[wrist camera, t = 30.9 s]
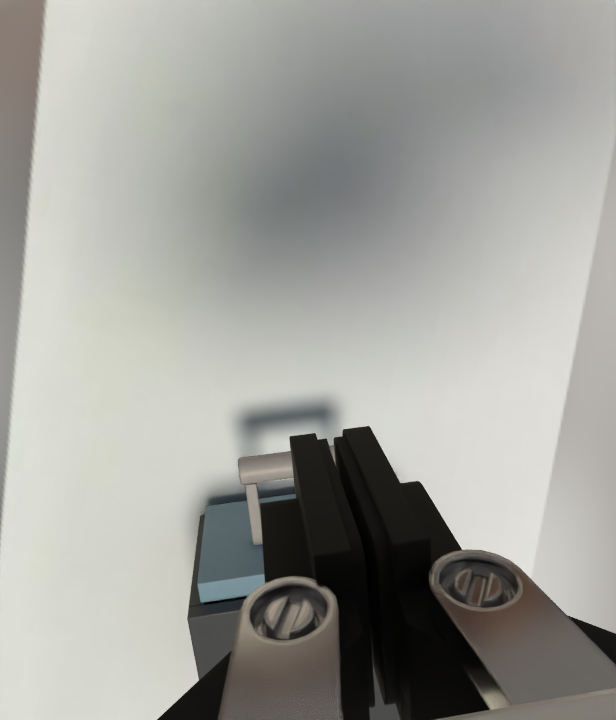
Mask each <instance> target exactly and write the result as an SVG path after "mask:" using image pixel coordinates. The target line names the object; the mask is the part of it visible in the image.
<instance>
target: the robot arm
mask: <svg viewBox="0 0 616 720" xmlns="http://www.w3.org/2000/svg"><path fill="white" fill-rule="evenodd" d="M290 448H291V457H292V466H293V475H294V485H295V494H296V498H293V499H286V500H279V501H272V502H265V503H260V511H261V528H262V544H263V561H264V577H265V583H264V584H263V585H261V586H260V587H258V588H257V589H255V590H254V591H252V592H251V594H250V595H249V596H248V597H247V598H246V599H245V600H244V602H243V605H242V607H241V610H240V612H239V617H238V622H237V627H236V632H235V636H234V641H233V646H232V650H231V651H230V652H229V653H228V654H227V655H226V656H225V657H224V658H223V659H222V660H221V661H220V662H218V663H217V664H216V665H215V666H214V667H213V668H212V669H211V670H210V671H209V672H208V673H207V674H206V675H205V676H203V677H202V678H201V679H200V680H199V681H198V682H197V683H196V684H195V685H194V686H193V687H192V688H191V689H190V690H188V691H187V692H186V693H185V694H184V695H183V696H182V697H181V698H180V699H179V700H178V701H177V702H176V703H175V704H173V705H172V706H171V707H170V708H169V709H168V710H167V711H166V712H165V713H164V714H163V715H162V716H161V717H160V718H158V719H157V720H370V712H369V708H372V707H375V692H374V678H373V667H374V670H375V674H376V678H377V681H378V685H379V688H380V692H381V696H382V699H383V702H384V704H385V705H390V704H395V703H396V707H397V710H398V713H399V717H400V720H616V634H615V633H612V632H609V631H607V630H604V629H602V628H599V627H596V626H593V625H591V624H589V623H586V622H583V621H581V620H578V619H575V618H573V617H570V616H567V615H566V614H565V613H564V612H563V611H562V610H561V609H560V608H559V607H558V606H557V605H556V604H555V603H554V602H553V601H552V600H551V599H550V598H549V597H548V596H547V595H546V594H545V593H544V592H543V591H542V590H541V589H540V588H539V587H538V586H537V585H536V584H535V583H534V582H533V581H532V580H531V579H530V578H529V577H528V576H527V575H526V574H525V573H524V572H523V571H522V570H521V569H520V568H519V567H518V566H517V565H515V564H514V563H513V562H511V561H510V560H508V559H506V558H504V557H502V556H500V555H497V554H495V553H490V552H486V551H482V550H462V549H461V547H460V546H459V544H458V542H457V541H456V539H455V538H454V536H453V534H452V533H451V531H450V529H449V528H448V526H447V525H446V523H445V521H444V520H443V518H442V516H441V515H440V513H439V511H438V510H437V508H436V507H435V505H434V503H433V502H432V500H431V498H430V497H429V495H428V493H427V492H426V490H425V489H424V487H423V485H422V484H421V483H420V482H419V481H415V482H408V483H400V482H399V480H398V478H397V476H396V474H395V472H394V471H393V469H392V467H391V465H390V463H389V461H388V460H387V458H386V456H385V454H384V452H383V450H382V448H381V447H380V445H379V443H378V441H377V439H376V437H375V436H374V434H373V432H372V430H371V428H370V427H369V426H366V427H358V428H351V429H344V430H343V437H335V438H334V451H335V462H334V459H333V456H332V453H331V450H330V447H329V444H328V441H327V439H320V440H317V436H316V434H315V433H313V434H305V435H297V436H290ZM335 463H336V465H335Z"/></svg>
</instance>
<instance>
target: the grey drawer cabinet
mask: <svg viewBox="0 0 616 720" xmlns="http://www.w3.org/2000/svg"><path fill="white" fill-rule="evenodd" d="M204 519H205V515H204V516H200V521H199V529H198V537H197V545H196V553H195V561H194V569H193V577H192V585H191V593H190V601H189V610H188V618H187V619H188V624H189V629H190V635H191V640H192V645H193V650H194V656H195V661H196V666H197V671H198V677H199V680H200V679H201V678H202V677H203V676H205V675H206V674H207V673H208V672H209V671H210V670H211V669H212V668H213V667H214V666H215V665H216V664H217V663H218V662H220V661H221V660H222V659H223V658H224V657H225V656H226V655H227V654H228V653H229V652H230V651H231V650H232V646H233V641H234V636H235V632H236V627H237V622H238V617H239V612H240V610H241V607H242V605H243V602H244V600H245V599H241V600H234V601H228V602H221V603H219V600H217V601H211V602H204V603H201V602H200V596H199V591H198V585H197V583H198V574H199V565H200V556H201V547H202V537H203V528H204ZM373 678H374V692H375V707H372V708H369V712H370V720H400V717H399V713H398V710H397V707H396V703H395V704H390V705H385V704H384V702H383V699H382V696H381V692H380V688H379V685H378V681H377V678H376V674H375V670H374V667H373Z"/></svg>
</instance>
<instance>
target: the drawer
mask: <svg viewBox="0 0 616 720" xmlns="http://www.w3.org/2000/svg"><path fill="white" fill-rule="evenodd" d="M329 447H330V450H331V453H332V456H333V459H334V462H335V451H334V445H333V446H329ZM335 465H336V463H335ZM238 468H239V477H240V482H241V484H245V489H246V496H247V501H240V502H232V503H225V504H218V505H211V506H206V510H205V519H204V528H203V537H202V547H201V556H200V565H199V574H198V583H197V585H198V591H199V596H200V602H201V603H204V602H211V601H217V600H219V603H221V602H228V601H234V600H241V599H246V598H247V597H248V596H249V595H250V594H251V592H252V591H254V590H255V589H257V588H258V587H260V586H261V585H263V584H264V583H265V577H264V561H263V544H262V528H261V511H260V503H265V502H272V501H279V500H286V499H293V498H296V494H290V495H283V496H275V497H268V498H261V499H259V498H258V490H257V483H258V482H265V481H272V480H280V479H287V478H294V475H293V466H292V457H291V451H288V452H280V453H273V454H265V455H258V456H250V457H243V458H239V459H238Z"/></svg>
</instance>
